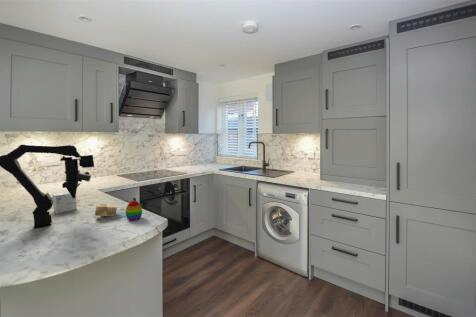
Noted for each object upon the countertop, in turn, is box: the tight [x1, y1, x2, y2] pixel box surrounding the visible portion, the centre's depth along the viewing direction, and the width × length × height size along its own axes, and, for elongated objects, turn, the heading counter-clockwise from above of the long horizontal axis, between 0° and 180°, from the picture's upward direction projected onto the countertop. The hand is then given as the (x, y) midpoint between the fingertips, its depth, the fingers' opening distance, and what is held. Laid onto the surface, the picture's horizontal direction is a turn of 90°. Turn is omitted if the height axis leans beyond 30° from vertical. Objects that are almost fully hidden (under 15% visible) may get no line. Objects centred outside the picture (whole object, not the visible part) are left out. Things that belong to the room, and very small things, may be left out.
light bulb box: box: [51, 191, 78, 214], centre depth 151 cm, size 11×7×11 cm, turn 141°
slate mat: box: [99, 210, 127, 221], centre depth 139 cm, size 12×10×2 cm
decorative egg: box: [125, 200, 143, 221], centre depth 133 cm, size 8×8×10 cm
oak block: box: [94, 203, 118, 217], centre depth 138 cm, size 5×6×10 cm
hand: (74, 197), depth 132 cm, fingers closed
